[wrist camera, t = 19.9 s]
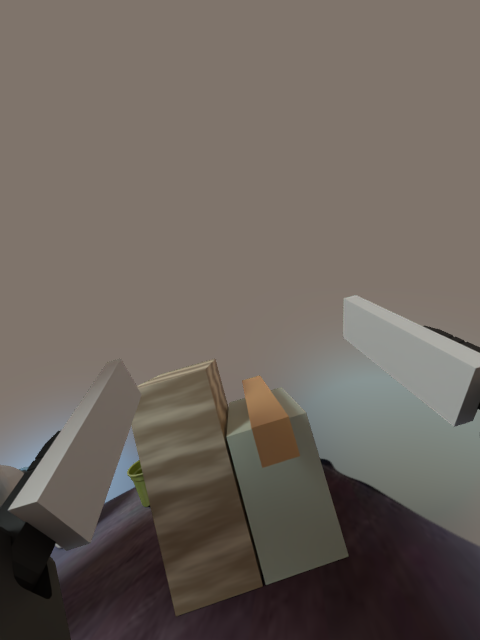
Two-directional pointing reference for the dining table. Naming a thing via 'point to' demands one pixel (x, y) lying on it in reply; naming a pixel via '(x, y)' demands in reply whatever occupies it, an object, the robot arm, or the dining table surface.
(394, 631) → the dining table surface
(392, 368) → the robot arm
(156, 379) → the tall stand
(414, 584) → the dining table surface
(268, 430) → the orange bar
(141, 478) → the plant pot
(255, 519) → the sage green pillar
